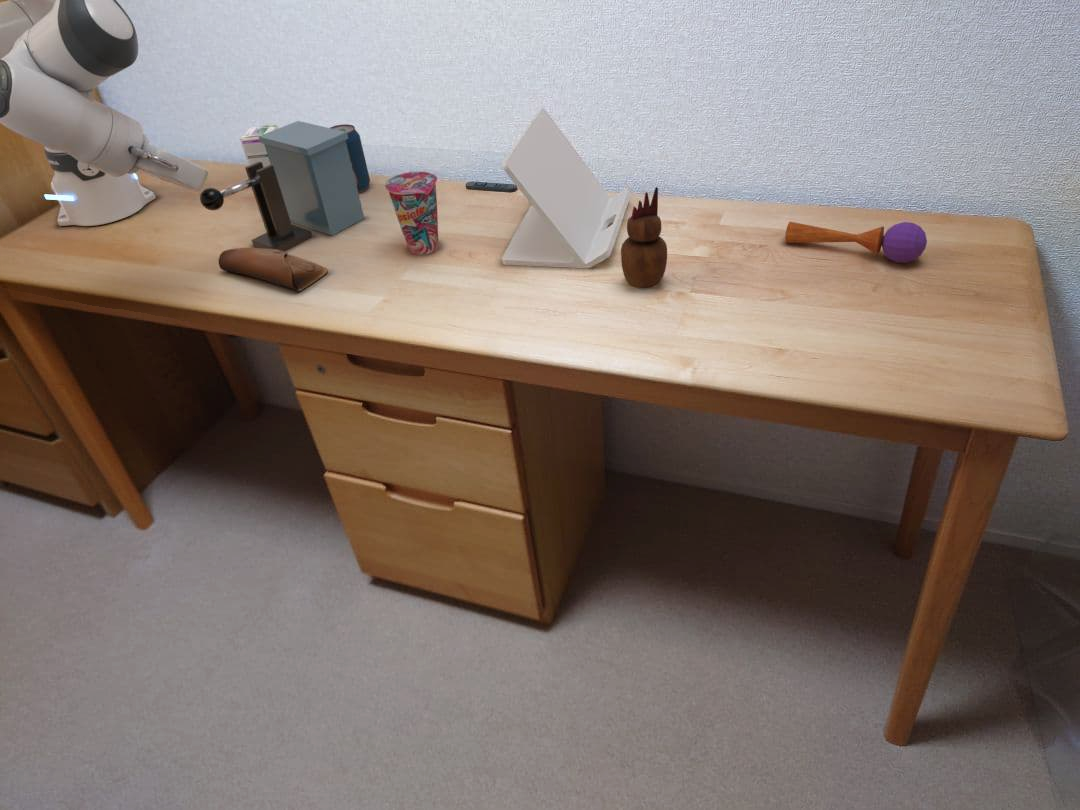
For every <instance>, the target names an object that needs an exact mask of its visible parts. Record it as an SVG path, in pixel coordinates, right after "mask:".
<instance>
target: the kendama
mask: <svg viewBox="0 0 1080 810" xmlns="http://www.w3.org/2000/svg"><path fill="white" fill-rule="evenodd" d="M784 237H785V243H786V244H794V243H796V244H797V243H799V244H800V243H802V244H803V243H805V244H806V243H809V244H810V243H856V244H858V245H860V246H861V247H863V248H865V249H867V250H869V251H870V252H872V253H874V254H875V255H877V256H878V255H879V254H880V252H881V249H882V252H883V254H884V255H885V257H886V258H887V259H888V260H890V261H892V262H894V263H898V264H906V263H910V262H913V261H915V260H916V259H918V258H920V257H921V256H922V255H923V253H924V251H925V250H926V247H927V243H928V240H927V235H926V232H925V231H924V229H923V228H922V227H921V226H920V225H919V224H916V223H915V222H910V221H909V222H908V221H903V222H899V223H895V224H893V225H892V226H890V227H889V228H888V229H887V230H886V231H885V227H884V225H883V226H880V227H877V228H874V229H871V230H868V231H864V232H861V233H857V234H855V233H850V232H845V231H840V230H836V229H830V228H825V227H820V226H815V225H809V224H805V223H799V222H794V221H789V222H788V224H787V226H786V230H785V236H784Z"/></svg>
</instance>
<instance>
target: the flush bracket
mask: <svg viewBox="0 0 1080 810" xmlns="http://www.w3.org/2000/svg"><path fill="white" fill-rule="evenodd" d="M244 169H245V172H246V175H247V178H248V180H249V179H251V178H253V177H255V174H256V172H257V175H258V178H259V182H260V183H259V184H256V185H254V186H252V187H251V190H252V193H253V195H254V199H255V202H256V205H257V209H258V210H259V215H260V217H261V220H262V223H263V226H264V229H265V233H263V234H261V235H259V236H257V237H255V238H253V239H251V243H252V245H253V247H254V248H265V249H276V250H281V251H284V252H287V250H289V249H292V248H294V247H295V246H297V245H299V244H301V243H303V242H305V241H307V240H309V239H311V238H313V233H312V230H310V229H307V228H305V227H301V226H300V225H299V226H298V225H297V224H292V222H291V221H290V218H289V215H288V212H287V209H286V205H285V202H284V199H283V196H282V192H281V189H280V186H279V183H278V180H277V176H276V173H275V170H274V167H273V165H268V166H266V167H263V164H262V162H257V163H255V164H252V165H250V166H249V165H247V166H245V167H244Z"/></svg>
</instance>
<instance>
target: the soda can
mask: <svg viewBox="0 0 1080 810" xmlns="http://www.w3.org/2000/svg"><path fill="white" fill-rule="evenodd" d="M329 128H331V129H336V130H340V131H344V132H347V135H348V139H346V144H347V148H348V153H349V157H350V161H351V165H352V169H353V173H354V177H355V181H356V185H357V189H358V194H360V193H363V192H365V191H366V190H368V188H369V185H370V182H371V178H370V173H369V169H368V166H367V165H368V164H367V161H366V157H365V156H366V155H365V151H364V149H363V144H362V139H361V135H360V133H359V132H358V131H357V130H356V127H355V126H354V125H352V124H347V123H346V124H337V125H333V126H331V127H329Z"/></svg>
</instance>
